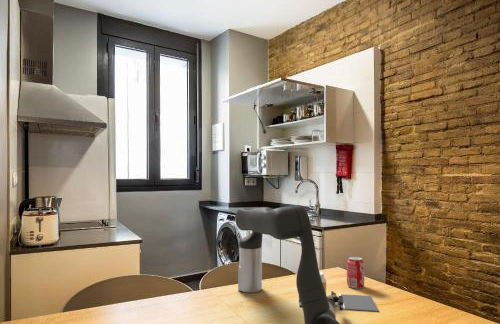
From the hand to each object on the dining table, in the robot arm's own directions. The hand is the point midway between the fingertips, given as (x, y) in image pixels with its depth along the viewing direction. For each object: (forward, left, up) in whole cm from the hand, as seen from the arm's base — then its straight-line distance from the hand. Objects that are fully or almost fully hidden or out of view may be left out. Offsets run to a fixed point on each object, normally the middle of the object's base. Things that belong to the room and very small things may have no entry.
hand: (319, 293), depth 117 cm
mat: (+14, +9, -6) cm, 18 cm away
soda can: (+16, +27, -6) cm, 32 cm away
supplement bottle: (0, +9, -6) cm, 11 cm away
